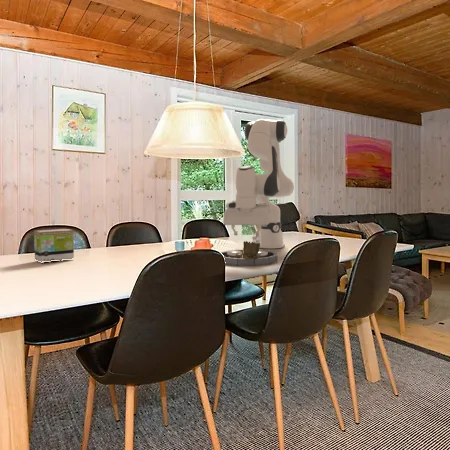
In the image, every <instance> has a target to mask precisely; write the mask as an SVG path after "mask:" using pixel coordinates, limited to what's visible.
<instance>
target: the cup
mask: <svg viewBox="0 0 450 450" xmlns="http://www.w3.org/2000/svg"><path fill="white" fill-rule="evenodd" d="M259 247H260V243H255V242H254V243H253V241H247V240H246V241H245V240H244V241H243V248H244V254H245V255H246V256H247V257H246V258H254V257H256V256H257V254H258V252H259V250H260V248H259Z"/></svg>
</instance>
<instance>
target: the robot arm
mask: <svg viewBox="0 0 450 450" xmlns="http://www.w3.org/2000/svg"><path fill="white" fill-rule="evenodd" d="M287 126H288V125H287V124H286V122H285V121H284V120H282V119H277V120H275V119H265V118H260V119H257V120H255V121H250V122H247V123H246V124H245V127H244V137H245V140H246V141H247V150H248V152H249V154H251V155H252V156H253V157H255V158H257V159H259V167H260V169H261V170H262V171H264V172H265V173H260V174H259V173H258V174H256V170H255V167H254V166H251V165H246V166H245V165H244V166H239V167H238V168H237V169H236V175H235V176H236V177H235V189H236V195H235V200H232V201H229V202H227V203H226V204H225V208H226V209H225V210H224V212H223V217H222V218H223V225H224V226H231V230H232V231H233V236H238V235H239V234H238V230H236V226H257V227H258V229H257V230H255V233H253V236H252V237H251V238H252V242H253V243H254V242H255V243H260V247H259V249H280V248H284V247H285V245H286V244H285V243H284V234H283V231H282V230H281V229H282V221H281V209H280V207H279V206H278V205H277V204H276V203H273V202H271V201H270V198H285V197H290V196H291V195H292V194H293V193H294V189H295V185H294V182H293V181H292V179H290V178H289V177H288V176H287V175H286V174H285V173H284V171H283V170H282V166H281V156H280V155H281V153H280V143H281V142H282V141H284V140H285V139H286V137H287V135H288V127H287Z"/></svg>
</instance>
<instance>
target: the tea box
mask: <svg viewBox="0 0 450 450" xmlns="http://www.w3.org/2000/svg"><path fill="white" fill-rule="evenodd" d="M33 242H34V243H33V245H34V247H33V249H34V260H35V259H36V260H38V261H41V262H42V261H51V260H62V259H72V258H74V257H75V251H74V249H75V248H74V245H75V244H74V230H72V229H68V228H58V229H41V230H40V229H39V230H34V231H33ZM74 259H75V258H74Z"/></svg>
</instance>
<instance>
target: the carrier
mask: <svg viewBox="0 0 450 450" xmlns="http://www.w3.org/2000/svg"><path fill="white" fill-rule="evenodd" d="M221 253H222V254H223V255H224V258H225V262H226V266H235V267H257V266H258V267H260V266H268V264H269V265H272V263H273V264H275V262H276V263H277V262H278V254H277V252H275V251H271V250H264V249H263V250H262V249H259V252H258V254H257V256H256V257H254V258H246V257H247V256H246V255H245V254H244V247H242V249H234V250H233V249H232V250H224V251H221Z"/></svg>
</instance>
